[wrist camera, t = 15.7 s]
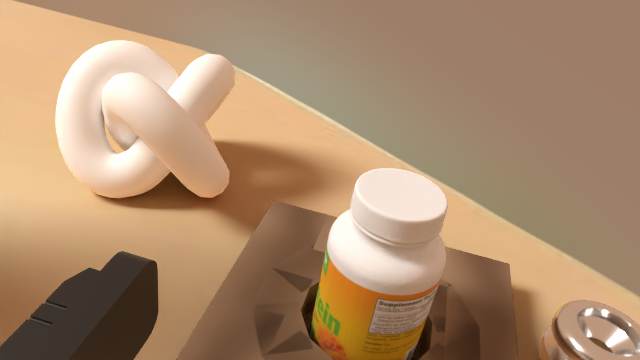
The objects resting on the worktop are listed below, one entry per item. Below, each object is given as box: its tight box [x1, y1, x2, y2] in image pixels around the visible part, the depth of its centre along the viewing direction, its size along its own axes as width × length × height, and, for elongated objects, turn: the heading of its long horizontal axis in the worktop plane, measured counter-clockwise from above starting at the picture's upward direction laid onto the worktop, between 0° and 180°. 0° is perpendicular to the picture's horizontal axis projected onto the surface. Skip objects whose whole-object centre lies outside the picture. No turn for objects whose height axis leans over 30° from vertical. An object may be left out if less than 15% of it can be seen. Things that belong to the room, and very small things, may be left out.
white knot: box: [56, 40, 235, 198], centre depth 35 cm, size 11×12×9 cm
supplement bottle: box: [310, 168, 448, 360], centre depth 24 cm, size 5×5×10 cm
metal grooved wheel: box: [538, 300, 640, 360], centre depth 27 cm, size 5×3×5 cm
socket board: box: [176, 201, 518, 360], centre depth 27 cm, size 15×15×2 cm
